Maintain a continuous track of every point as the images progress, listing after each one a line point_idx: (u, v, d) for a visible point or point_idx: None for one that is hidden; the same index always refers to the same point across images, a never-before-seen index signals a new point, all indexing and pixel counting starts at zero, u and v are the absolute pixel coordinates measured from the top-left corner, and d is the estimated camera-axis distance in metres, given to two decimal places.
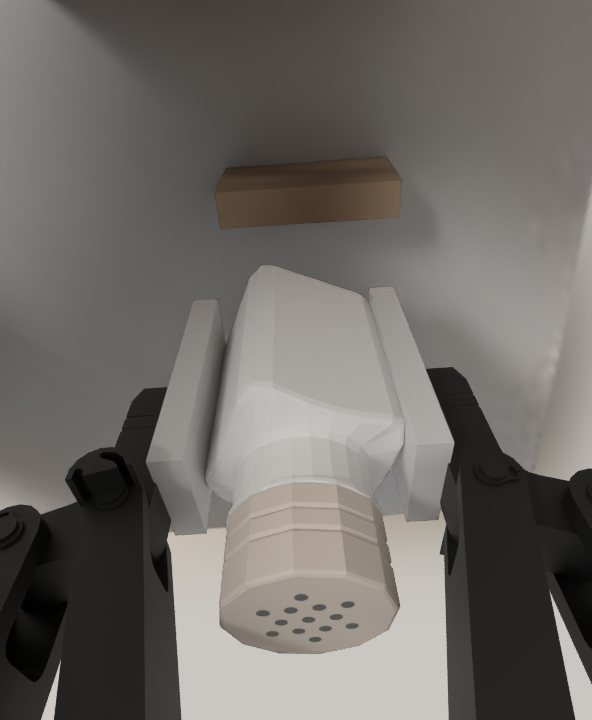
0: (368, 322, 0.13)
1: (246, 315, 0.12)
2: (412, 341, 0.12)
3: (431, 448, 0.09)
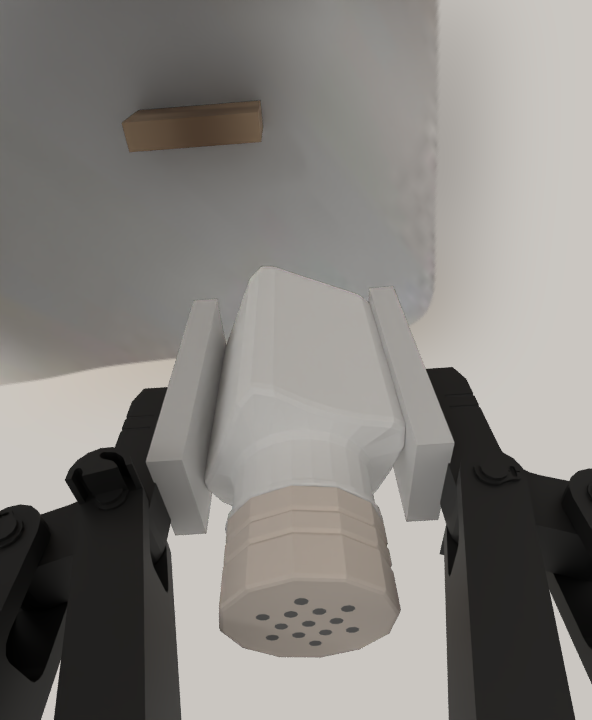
0: (368, 323, 0.13)
1: (246, 316, 0.12)
2: (412, 341, 0.12)
3: (431, 448, 0.09)
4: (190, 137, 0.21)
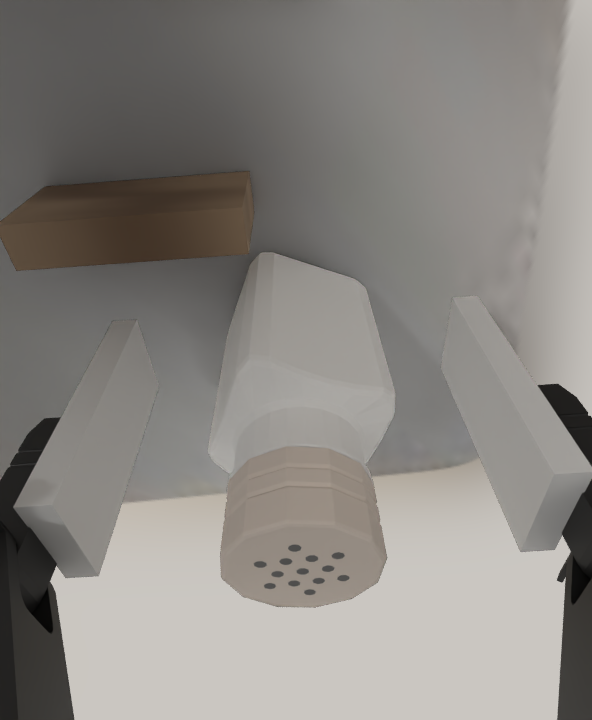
0: (363, 305, 0.14)
1: (246, 298, 0.13)
2: (515, 356, 0.11)
3: (567, 477, 0.09)
4: (122, 248, 0.12)
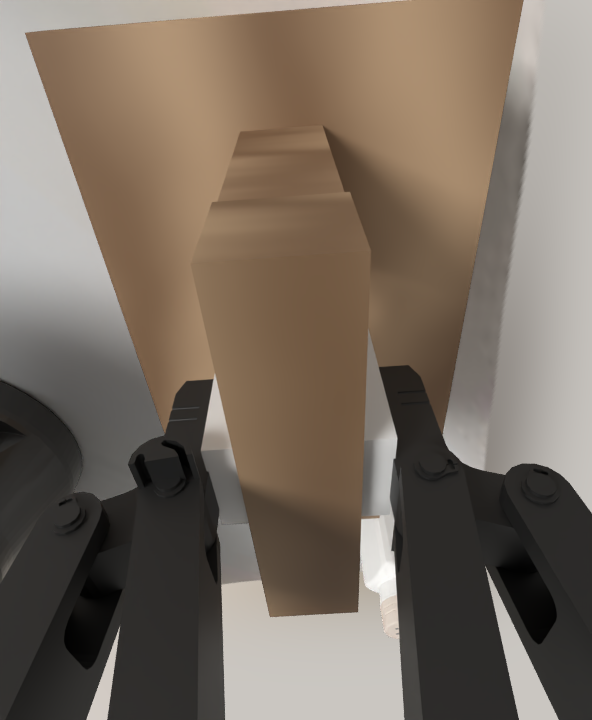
0: None
1: (375, 525, 0.36)
2: (368, 339, 0.12)
3: (375, 443, 0.10)
4: None
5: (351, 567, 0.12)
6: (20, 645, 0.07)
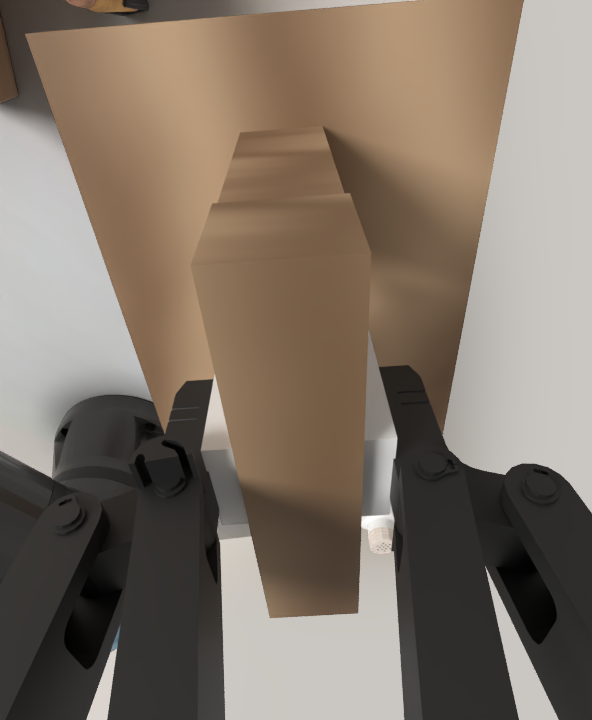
0: None
1: None
2: (368, 339, 0.12)
3: (375, 443, 0.10)
4: None
5: (351, 568, 0.12)
6: (20, 645, 0.07)
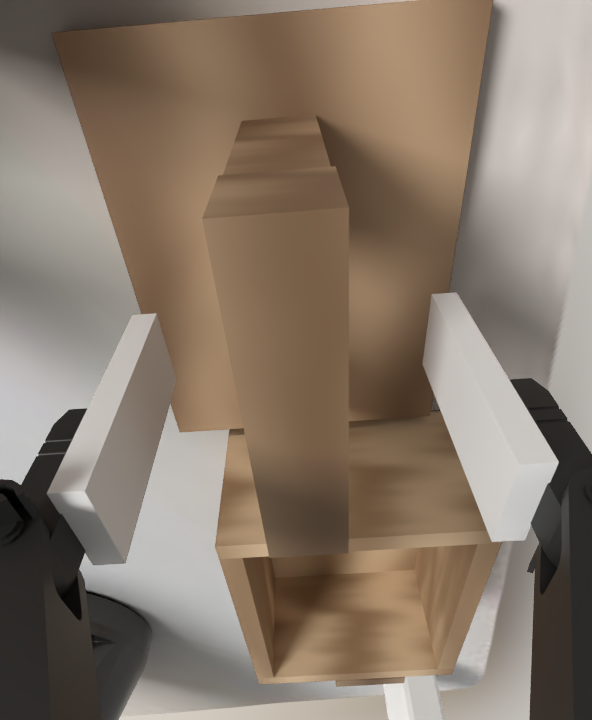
0: (433, 679, 0.43)
1: (399, 685, 0.42)
2: (489, 351, 0.12)
3: (532, 467, 0.09)
4: (368, 683, 0.40)
5: (341, 506, 0.13)
6: None
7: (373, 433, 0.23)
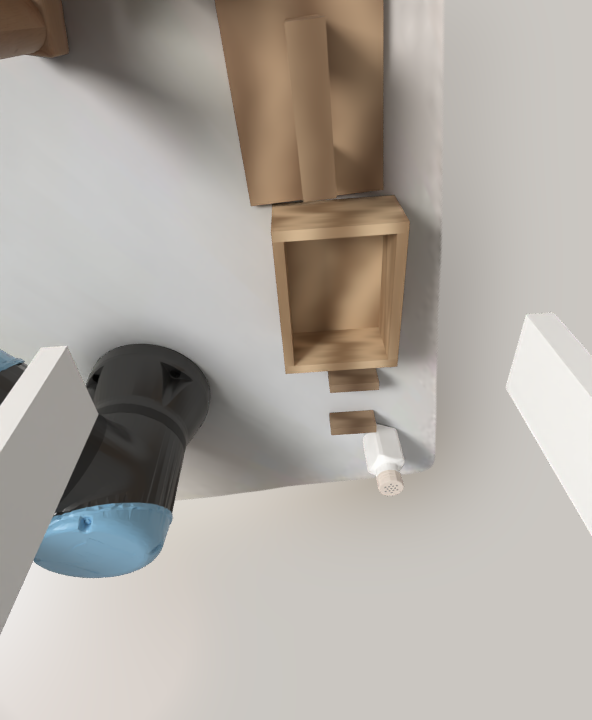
0: (397, 437, 0.64)
1: (373, 438, 0.63)
2: None
3: None
4: (353, 431, 0.61)
5: (331, 163, 0.34)
6: None
7: (349, 202, 0.44)
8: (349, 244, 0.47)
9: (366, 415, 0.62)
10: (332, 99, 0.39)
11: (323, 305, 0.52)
